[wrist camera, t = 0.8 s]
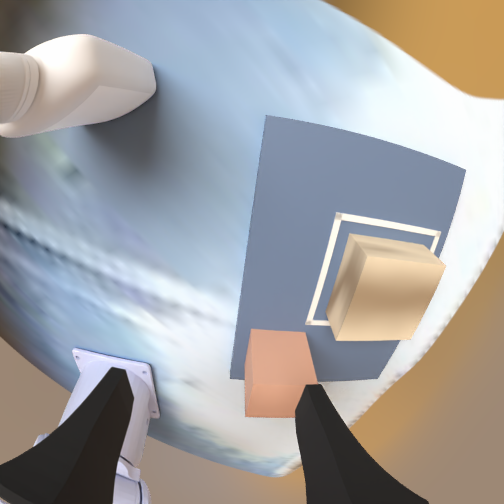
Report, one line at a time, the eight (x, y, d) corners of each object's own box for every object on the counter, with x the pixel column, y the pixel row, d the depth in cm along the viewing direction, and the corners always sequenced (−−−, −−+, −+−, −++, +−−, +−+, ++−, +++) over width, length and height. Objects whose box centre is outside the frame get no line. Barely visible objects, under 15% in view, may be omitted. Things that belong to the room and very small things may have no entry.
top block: (293, 367, 22) (301, 417, 18) (244, 364, 22) (245, 416, 17) (305, 332, 20) (318, 384, 16) (251, 328, 20) (253, 384, 16)
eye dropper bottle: (146, 134, 15) (-12, 192, 4) (69, 120, 14) (-92, 165, 3) (167, 63, 13) (28, -6, 2) (86, 55, 12) (-72, 35, 1)
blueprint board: (375, 372, 25) (377, 379, 24) (230, 371, 23) (230, 379, 23) (459, 167, 16) (466, 170, 15) (265, 115, 15) (267, 115, 14)
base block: (394, 313, 20) (410, 339, 18) (325, 311, 20) (335, 340, 17) (423, 244, 18) (446, 265, 15) (349, 233, 17) (367, 256, 14)
